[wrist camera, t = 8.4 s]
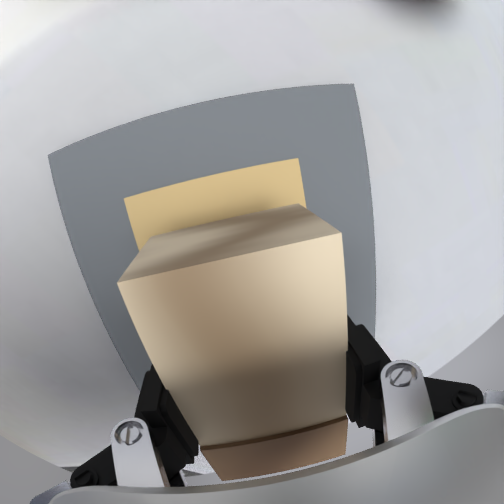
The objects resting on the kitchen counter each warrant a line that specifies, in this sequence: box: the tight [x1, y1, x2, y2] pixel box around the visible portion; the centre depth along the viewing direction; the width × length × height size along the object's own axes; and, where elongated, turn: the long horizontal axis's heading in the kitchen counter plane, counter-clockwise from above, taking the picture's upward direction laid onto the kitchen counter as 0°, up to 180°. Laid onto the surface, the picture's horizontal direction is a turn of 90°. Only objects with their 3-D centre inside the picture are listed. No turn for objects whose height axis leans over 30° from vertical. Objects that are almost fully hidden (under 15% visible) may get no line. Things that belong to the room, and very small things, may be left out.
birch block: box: [117, 203, 348, 481], centre depth 10 cm, size 6×10×4 cm, turn 11°
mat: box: [48, 84, 376, 391], centre depth 16 cm, size 16×20×1 cm
